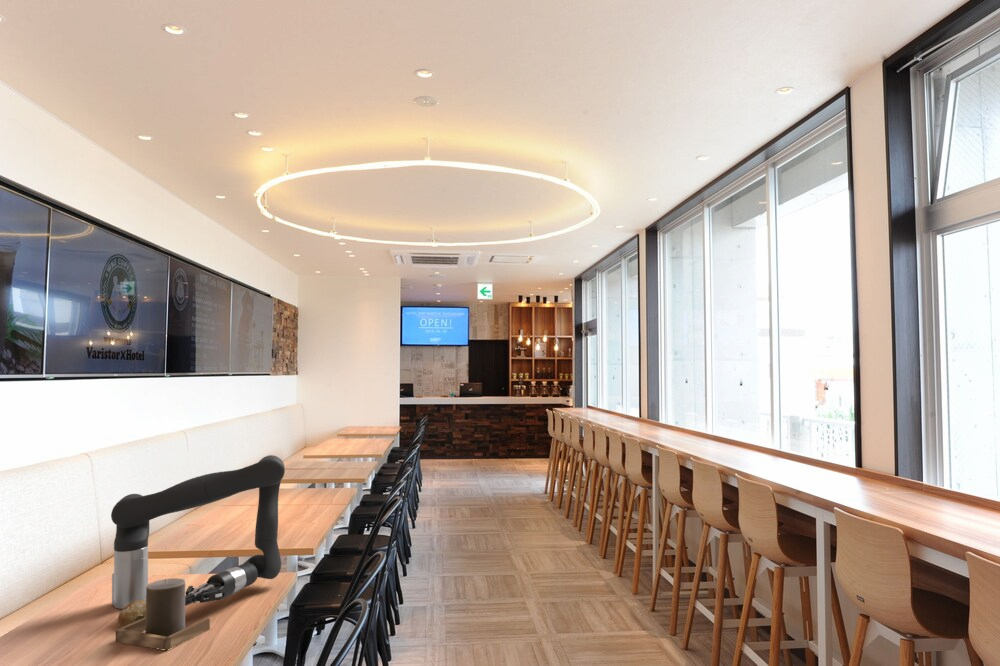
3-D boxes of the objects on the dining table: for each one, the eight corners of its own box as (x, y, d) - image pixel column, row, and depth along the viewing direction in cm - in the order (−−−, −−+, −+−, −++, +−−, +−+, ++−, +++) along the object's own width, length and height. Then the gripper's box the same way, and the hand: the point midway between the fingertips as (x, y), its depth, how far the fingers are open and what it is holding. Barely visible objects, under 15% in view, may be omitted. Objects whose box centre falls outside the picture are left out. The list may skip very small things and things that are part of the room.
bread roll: (125, 644, 181) (132, 620, 180) (108, 621, 186) (114, 598, 185) (160, 631, 190) (167, 608, 188) (142, 609, 195) (148, 587, 193)
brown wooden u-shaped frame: (115, 641, 174) (115, 630, 174) (160, 621, 187) (160, 610, 187) (166, 651, 167) (166, 639, 168) (209, 629, 181) (209, 618, 181)
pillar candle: (161, 644, 172) (162, 586, 172) (137, 637, 176) (138, 581, 177) (193, 630, 180) (193, 575, 181) (169, 624, 185) (170, 571, 185)
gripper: (210, 568, 202) (162, 587, 185) (243, 572, 197) (198, 592, 181) (210, 593, 201) (163, 613, 185) (244, 597, 197) (198, 619, 180)
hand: (180, 603), depth 183 cm, fingers closed
